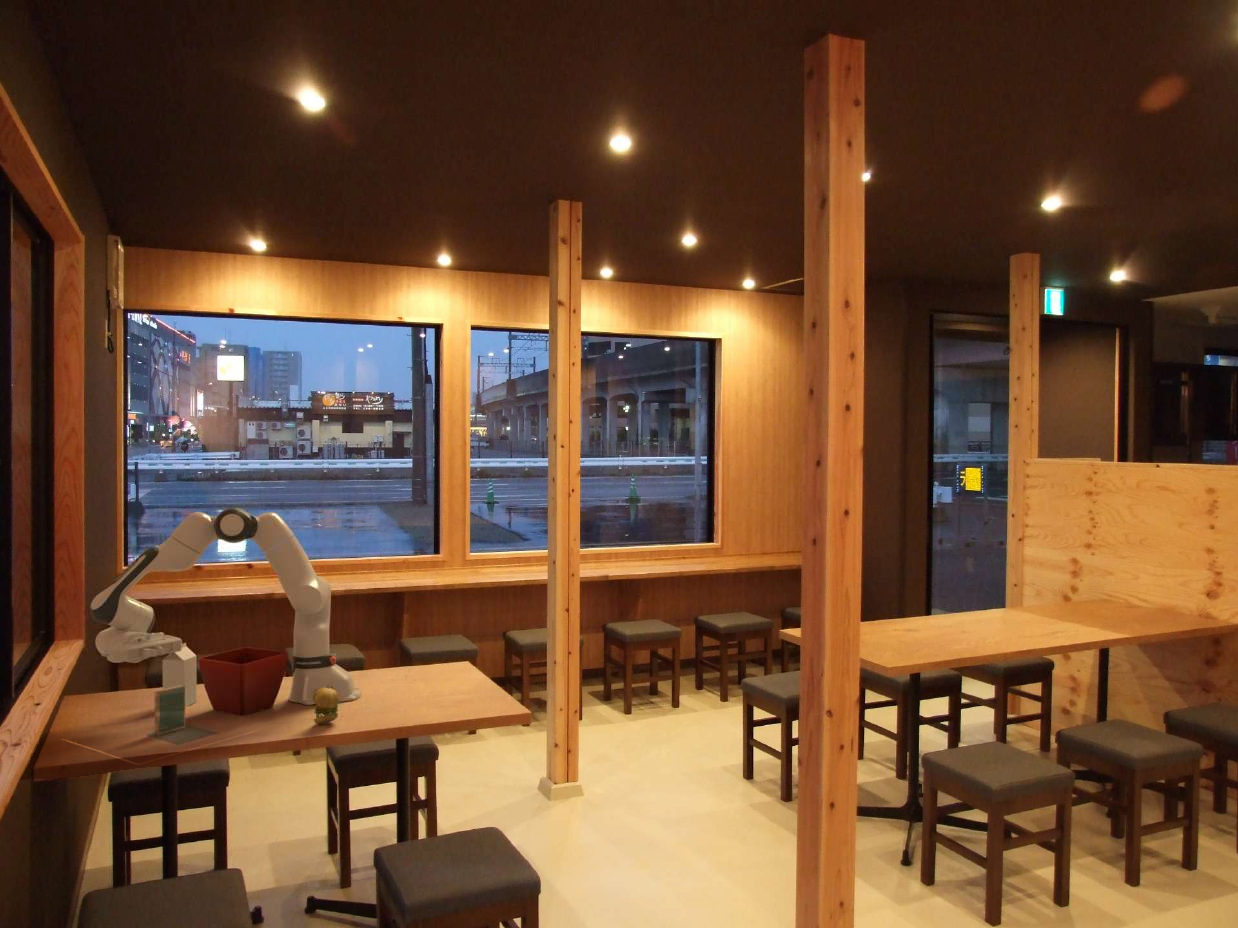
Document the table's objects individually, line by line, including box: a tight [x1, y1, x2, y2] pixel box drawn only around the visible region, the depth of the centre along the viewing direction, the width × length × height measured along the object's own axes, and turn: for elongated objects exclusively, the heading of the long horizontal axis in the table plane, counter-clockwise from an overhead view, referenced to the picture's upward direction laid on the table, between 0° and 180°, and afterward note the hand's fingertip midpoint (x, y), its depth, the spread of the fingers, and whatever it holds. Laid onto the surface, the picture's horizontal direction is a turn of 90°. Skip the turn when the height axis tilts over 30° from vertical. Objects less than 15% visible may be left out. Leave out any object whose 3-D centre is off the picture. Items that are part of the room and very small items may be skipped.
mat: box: [146, 723, 219, 745], centre depth 258 cm, size 16×12×1 cm
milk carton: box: [162, 642, 198, 708], centre depth 289 cm, size 7×7×19 cm
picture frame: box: [153, 685, 186, 735], centre depth 261 cm, size 2×8×12 cm, turn 146°
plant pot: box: [198, 646, 289, 716], centre depth 285 cm, size 19×19×17 cm
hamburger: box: [313, 685, 340, 725], centre depth 267 cm, size 8×7×12 cm
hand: (159, 652), depth 264 cm, fingers closed
